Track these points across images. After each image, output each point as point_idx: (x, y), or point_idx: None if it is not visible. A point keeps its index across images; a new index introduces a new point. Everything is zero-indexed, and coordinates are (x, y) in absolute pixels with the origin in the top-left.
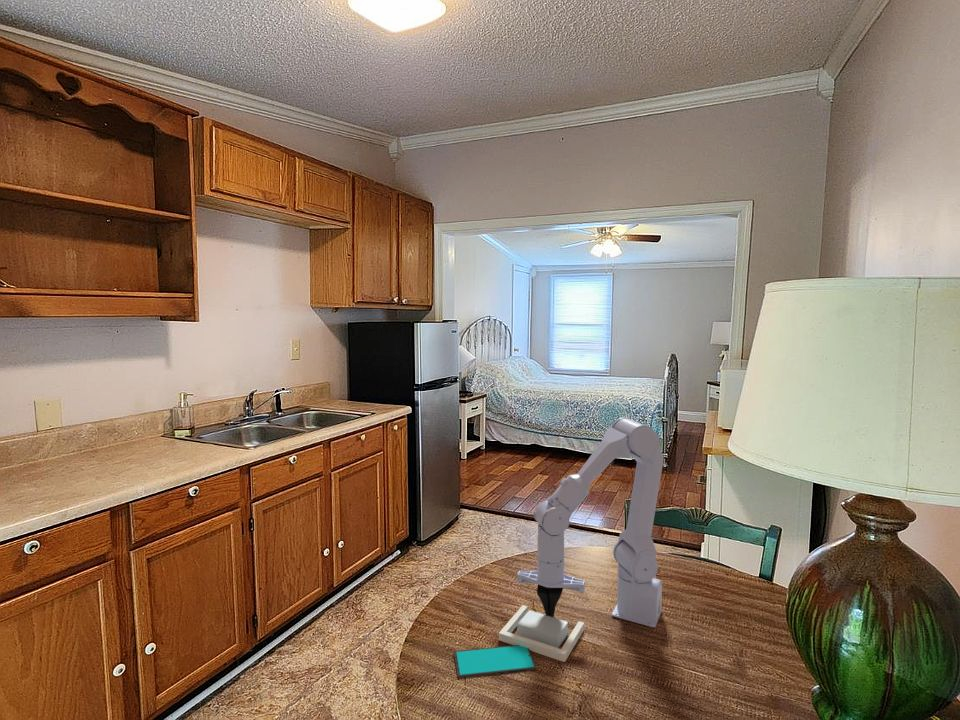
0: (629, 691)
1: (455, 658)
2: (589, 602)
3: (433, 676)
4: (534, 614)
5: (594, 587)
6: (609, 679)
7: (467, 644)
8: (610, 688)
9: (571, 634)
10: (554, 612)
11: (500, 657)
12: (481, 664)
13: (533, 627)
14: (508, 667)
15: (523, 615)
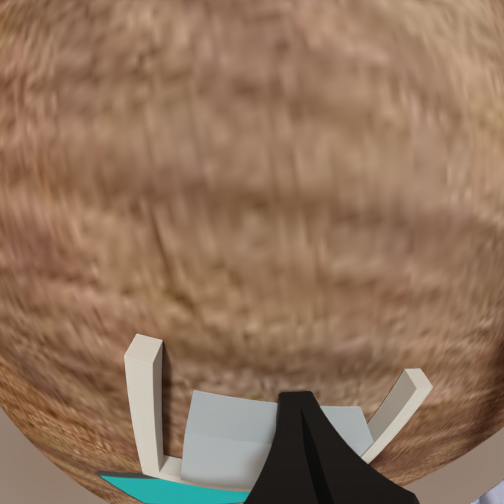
0: (434, 461)
1: (111, 484)
2: (466, 148)
3: (111, 493)
4: (221, 449)
5: (454, 15)
6: (415, 462)
7: (96, 458)
8: (408, 472)
9: (372, 448)
10: (316, 402)
11: (186, 492)
12: (161, 497)
13: (241, 485)
14: (215, 502)
15: (158, 385)
